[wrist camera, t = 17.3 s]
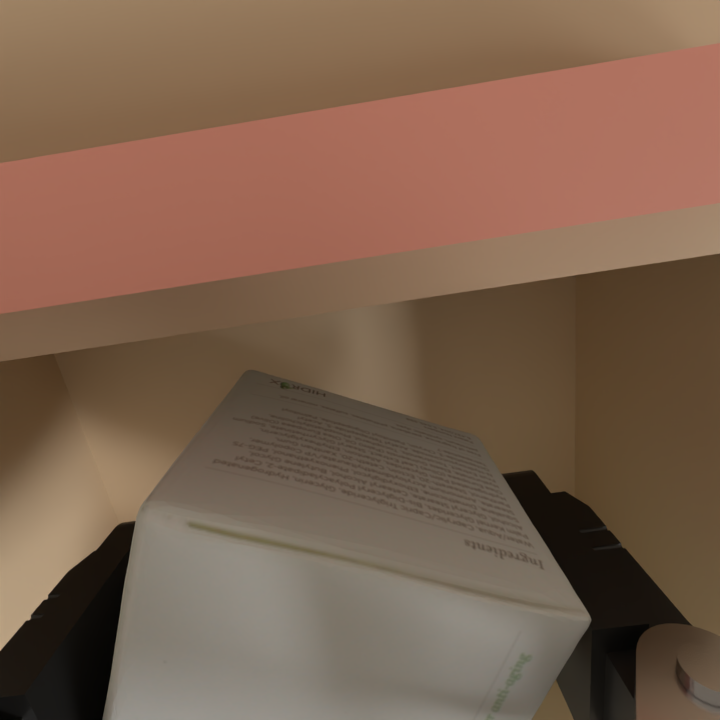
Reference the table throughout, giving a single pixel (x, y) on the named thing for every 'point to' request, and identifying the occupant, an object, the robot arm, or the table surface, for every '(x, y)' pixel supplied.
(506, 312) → the mailer box
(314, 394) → the small box
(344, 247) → the lid
